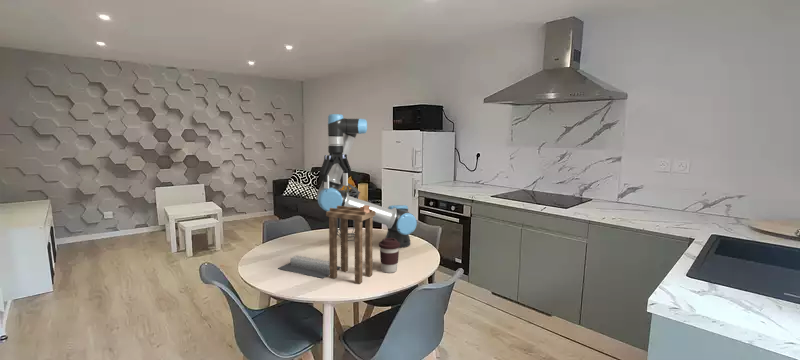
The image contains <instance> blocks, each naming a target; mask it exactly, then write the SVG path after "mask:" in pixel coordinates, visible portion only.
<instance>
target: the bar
mask: <svg viewBox="0 0 800 360" xmlns="http://www.w3.org/2000/svg"><path fill="white" fill-rule="evenodd" d="M290 262H291V266H294V267H299V268H304V269H309V270H314V271H319V272H324V273H330V261H329V260H323V259H318V258H314V257H313V258H312V257H307V256H301V255H294V256H292V257H290Z"/></svg>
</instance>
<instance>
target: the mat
mask: <svg viewBox="0 0 800 360" xmlns="http://www.w3.org/2000/svg"><path fill="white" fill-rule="evenodd" d="M277 270H279V271H286V272H290V273H294V274H300V275H303V276H308V277H313V278H319V279H325V278H326V277H328V276H330V273H324V272H319V271H314V270H309V269H304V268H299V267H294V266H291V261H290V262H288V263H285V264H283V265H282V266H280V267H278V268H277ZM338 270H341V265H340V266H338V265H337V271H338Z"/></svg>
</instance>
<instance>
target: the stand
mask: <svg viewBox="0 0 800 360" xmlns="http://www.w3.org/2000/svg"><path fill="white" fill-rule="evenodd" d="M375 215H376V211H373V209H370V206H369V205H364V206H362V207H360V208H356V207H347V206H337V208H330V211H328V212H327V211H325V217H328V233H329V234H328V241H329V242H328V244H329V249H328V250H329V252H328V253H329V259H328V261H329V262H330V275H329V279H332V280H335V279H337V278H338V270H337V266H338V235H337V218H338V219H339V218H340V219H341V238H340V267H341V268H340V272H343V273H346V272H348V271H349V241H348V240H349V238H348V236H349V235H348V233H349V229H348V228H349V220H352V221H353V220H355V223H354V228H355V229H354V232H355V233H354V234H355V240H354V284H356V285H361V284H362V283H363V222H364V224H365V229H364V235H365V236H364V256H365V257H364V276H365V277H367V278H371V277H372V276H373V234H374V233H373V225H374V224H373V223H374V221H373V216H375Z"/></svg>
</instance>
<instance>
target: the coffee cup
mask: <svg viewBox="0 0 800 360" xmlns="http://www.w3.org/2000/svg"><path fill="white" fill-rule="evenodd" d="M378 247H379V248H380V250H379V257H380V263H381V264H380V265H381V267H380V268H381V271H382V272H383V273H385V274H386V273H387V274H393V273H395V272H397V270H398V262H399V253H400V251H399V249H400V248H399V247H400V242H398V241H397V240H396V239H394V238H386V237H384V238H383V239H382V240H381V241H379V242H378Z"/></svg>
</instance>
